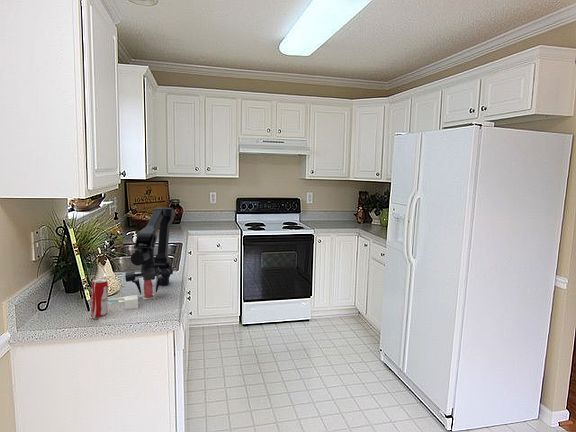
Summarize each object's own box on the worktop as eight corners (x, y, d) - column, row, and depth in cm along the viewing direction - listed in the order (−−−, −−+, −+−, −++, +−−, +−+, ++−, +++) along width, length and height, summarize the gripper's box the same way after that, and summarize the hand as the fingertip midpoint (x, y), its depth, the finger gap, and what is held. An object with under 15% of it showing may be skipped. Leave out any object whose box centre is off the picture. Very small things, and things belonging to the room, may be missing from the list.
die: (124, 307, 163) (124, 296, 162) (137, 306, 165) (136, 294, 164) (125, 312, 158) (124, 300, 157) (138, 310, 160) (137, 298, 160)
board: (106, 301, 169) (105, 299, 169) (153, 295, 177) (153, 293, 177) (105, 306, 164) (105, 303, 164) (155, 299, 172) (155, 297, 172)
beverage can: (89, 315, 153) (87, 279, 151) (107, 312, 157) (105, 277, 155) (92, 320, 149) (90, 283, 147) (110, 317, 153) (109, 280, 150)
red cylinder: (144, 295, 175) (143, 277, 174) (152, 294, 176) (152, 276, 175) (143, 297, 171) (143, 279, 170) (152, 296, 172) (151, 278, 171)
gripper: (125, 266, 160) (126, 301, 162) (171, 262, 168) (172, 296, 170) (124, 259, 170) (125, 293, 172) (168, 256, 178) (168, 288, 180)
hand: (148, 293), depth 173 cm, fingers open, 6 cm apart
